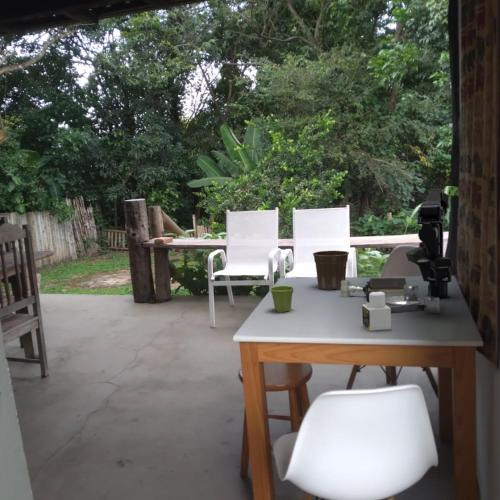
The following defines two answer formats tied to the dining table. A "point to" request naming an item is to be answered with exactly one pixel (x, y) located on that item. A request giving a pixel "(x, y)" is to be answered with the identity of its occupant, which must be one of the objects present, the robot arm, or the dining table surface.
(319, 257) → the plant pot
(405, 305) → the dial scale
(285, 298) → the plant pot
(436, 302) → the steel spacer
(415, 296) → the cylinder
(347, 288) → the valve
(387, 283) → the hardcover book
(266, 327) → the dining table surface
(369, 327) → the medicine bottle
